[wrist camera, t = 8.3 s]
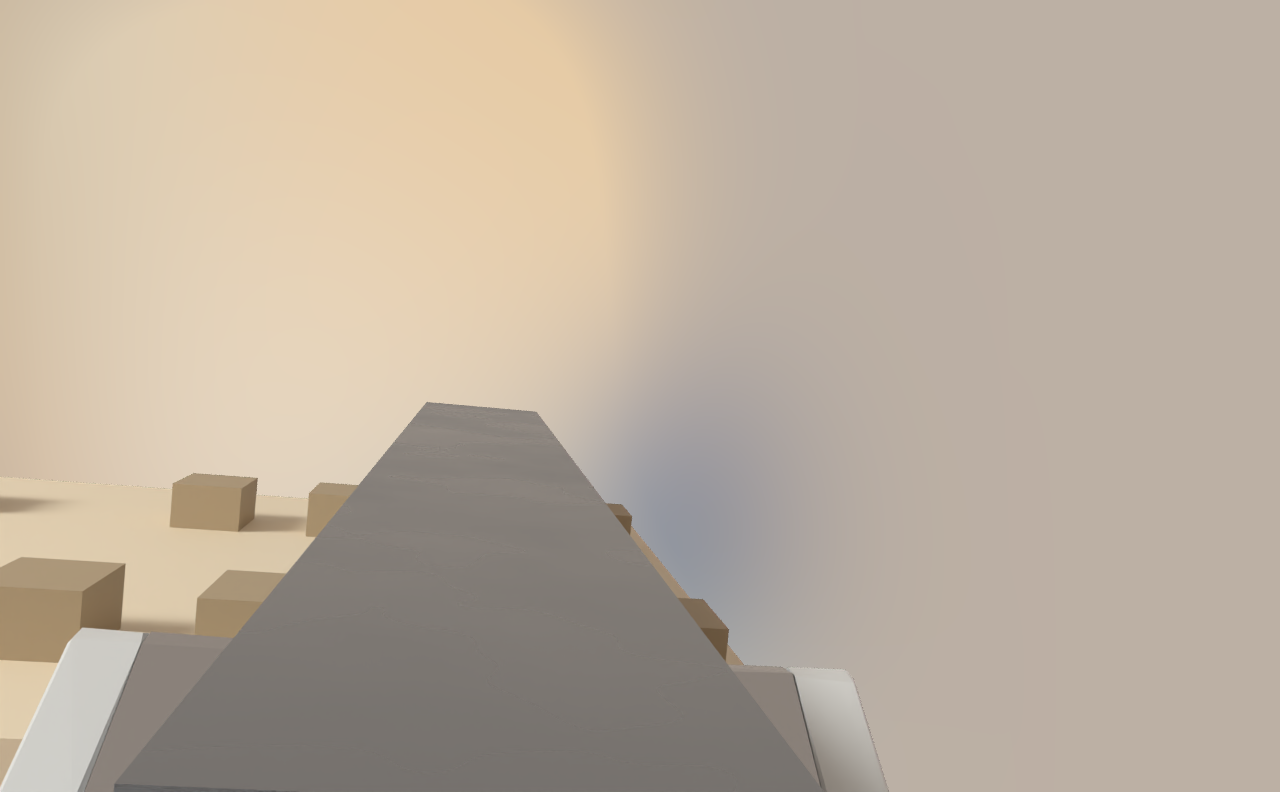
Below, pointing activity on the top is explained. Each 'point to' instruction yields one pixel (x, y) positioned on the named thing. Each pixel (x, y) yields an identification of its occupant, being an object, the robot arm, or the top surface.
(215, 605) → the stand
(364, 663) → the long grey bar
